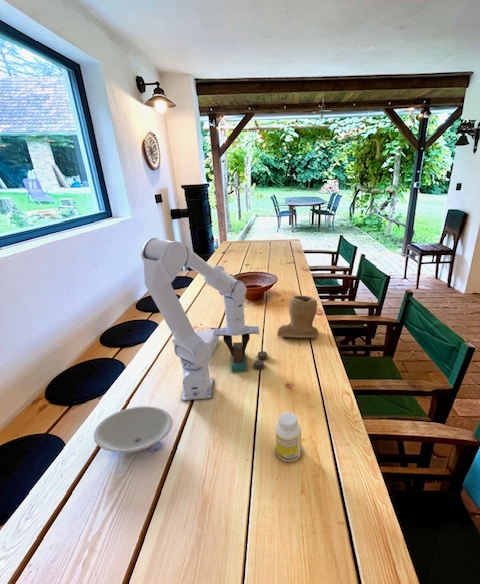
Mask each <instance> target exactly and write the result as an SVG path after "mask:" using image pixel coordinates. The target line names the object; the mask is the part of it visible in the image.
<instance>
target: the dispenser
mask: <svg viewBox="0 0 480 584" xmlns="http://www.w3.org/2000/svg"><path fill="white" fill-rule="evenodd" d="M214 329H215V328H213V329H211V328H209V329H208V328H207V329H204V330H196V331H194V332H195V333H196V334H197V335H198V336H199V337H200V338H202V339H203V341H204V343H205V344H206V345H208V346H209V347H210V348H211V350H212V354H213V353H214V351H215V349H216V348H217V346H218V344H219V342H220V336H217V337H215V338H213V330H214Z"/></svg>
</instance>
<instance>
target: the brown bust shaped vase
mask: <svg viewBox="0 0 480 584" xmlns="http://www.w3.org/2000/svg"><path fill="white" fill-rule="evenodd" d="M317 310H318V301H317V299H316V298H314V297H312V296H308V295H293V296H291V297H290V299H289V302H288V312H289V318H290V321H289V323H288V324H283V325H281V326H280V327H278V329H277V331H276V337H283V338H298V339H299V338H300V339H313V338H314V339H315V338H317V336H318V335H319V329H318V328H316V327H315V326H313V323H314V320H315V317H316V314H317Z"/></svg>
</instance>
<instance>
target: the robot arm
mask: <svg viewBox="0 0 480 584" xmlns="http://www.w3.org/2000/svg"><path fill="white" fill-rule="evenodd" d="M140 258H141V259H142V262H143V274H144V276H143V277H144V285H145V288H146V289H147V291H148V292H149V295H150V296H151V298H152V301H153V302H154V304H155V305H156V307H157V309H158V311H159V313H160V314H161V316H162V317H163V320H164V321H165V323H166V325H167V327H168V328H169V330H170V332H171V334H172V336H173V338H172V340H171V342H172V344H173V350H174V351H173V352H174V354H175V355H176V356H177V357H178V358H179V361H180V362H181V369H182V374H183V377H182V386H183V392H182V396H181V400H182V401H190V400H191V401H192V400H204V399H210V398H212V390H213V382H214V378H213V377H210V371H209V364H210V361H211V359H212V355H213V353H212V350H211V348H210V347H209V346H208V345H206V344H205V343H204V341H203V339H202V338H200V337H199V336H198V335H197V334H196V333H195V332H196V331H195V330H194V328H193V326H192V323H191V321H190V319H189V318H188V317H189V316H187V314H186V311H185V310H184V307H183V305H182V304H181V302H180V299H179V297H178V296H177V294H176V292H175V289H174V288H173V285H172V284H173V283H172V282H174V281H175V279H176V278H177V276H178V275H179V274H180V272H181V270H182V269H183V268H184V267H187V268H189V269H191V270H193V271H195V272H196V273H198V274H200V275H201V276H202V277H203V278H204V283H206V284H207V285H208V286H210V287H211V288H213V289H215V290H216V291H217V292H218V293H219V295H220V296H223V301H224V302H223V303H224V314H225V323H226V325H225V326H226V327H221V328H216V329H215V328H213V329H214V330H213V329H212V330H213V338H215V337H217V336H219V337H223V343H224V344H225V345H226V347H227V348H228V350H229V352H230V356H231V357H232V356H233V337H238V336H241V342H242V352H243V356H244V355H245V356H246V350H247V345H248V343H249V341H250V339H251V338H250V335H257V336H258V335H260V326H259V325H257V326H253V325H246V322H245V321H246V319H245V309H244V303H245V297H246V294H247V290H248V289H247V287H246V285H245V283H244V282H243V280H239V279H236V278H235V275H234V274H231V273H228V272H227V271H225V267H223V266H222V265H212V266H211V265H210V264H209V263H208V262H207V261H205V260H204V259H203V258H202V257H200V256H199V255H198V254H197V253H196V252H194V251H193V250H192V249H191V247H189V246H186V245H184V244H183V242H181V241H177V240H166V239H161V238H158V237H152V238H150V239H148V240H146V241H145V243H144V245H143V247H142V250H141V253H140Z"/></svg>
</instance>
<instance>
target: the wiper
mask: <svg viewBox="0 0 480 584" xmlns="http://www.w3.org/2000/svg"><path fill="white" fill-rule="evenodd" d="M232 345H233V356H231V372H232V373H238V372H246V371H247V367H246V365H247V364H246V363H247V362H246V354H245V355H244V356H243V352H242V341H240V342H239V341H238V342H232Z"/></svg>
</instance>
